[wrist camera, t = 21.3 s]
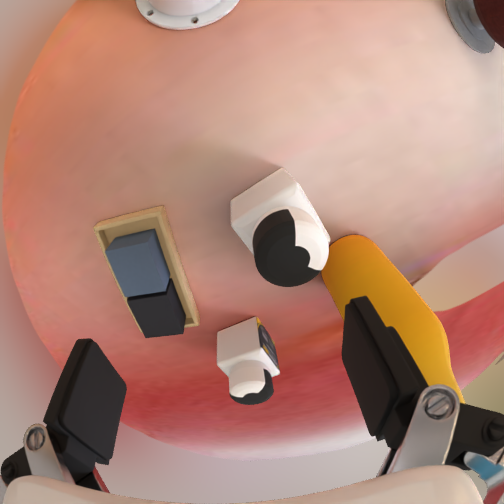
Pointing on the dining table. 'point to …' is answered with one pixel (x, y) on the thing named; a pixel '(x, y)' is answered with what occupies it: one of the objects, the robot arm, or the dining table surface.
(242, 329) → the medicine bottle
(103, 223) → the wooden tray
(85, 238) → the dining table surface
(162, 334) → the pad
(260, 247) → the container
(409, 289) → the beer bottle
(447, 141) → the dining table surface
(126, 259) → the blue block
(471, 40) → the mate gourd
